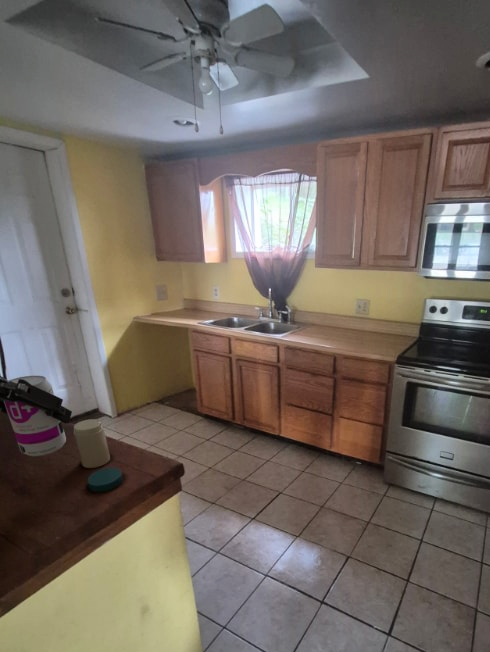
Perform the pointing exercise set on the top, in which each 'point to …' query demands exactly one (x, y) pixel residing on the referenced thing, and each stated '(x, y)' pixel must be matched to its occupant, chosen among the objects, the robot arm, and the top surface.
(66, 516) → the top surface
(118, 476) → the jar lid
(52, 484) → the top surface
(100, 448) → the jar
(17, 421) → the supplement can
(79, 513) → the top surface
